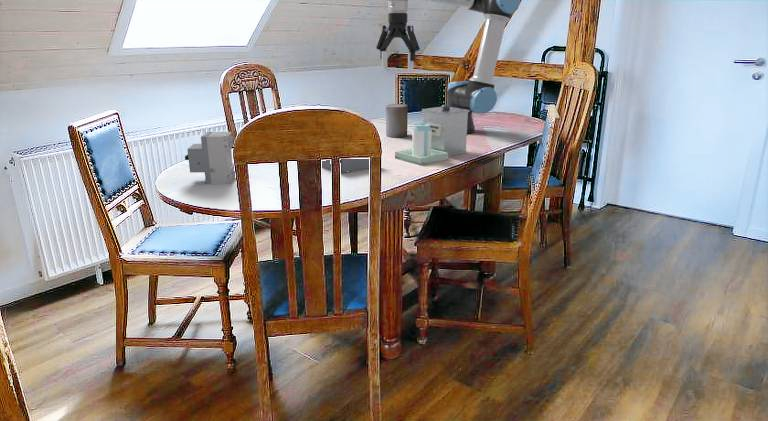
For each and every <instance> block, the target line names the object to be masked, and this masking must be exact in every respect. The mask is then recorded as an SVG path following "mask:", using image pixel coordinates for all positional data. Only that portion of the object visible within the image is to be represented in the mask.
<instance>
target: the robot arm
mask: <svg viewBox="0 0 768 421" xmlns="http://www.w3.org/2000/svg"><path fill="white" fill-rule="evenodd" d="M421 1H425V2H430V3H437V4H445V5H450V6H459V7H462V8H463V9H464V10H467V11H472V12H478V13H482V14H483V17H484V19H485V21H484V22H485V23H484V27H483V31H482V36H481V40H480V45H479V50H478V52H477V59H476V62H475V67H474V71H473V73H472V74H473V75H472V77H470V78H468V80H464V81H450V82H449V83H448V85H447V90H446V92H447V102H446V103H447V104H446V105H450V107H453V108H460V109H466V110H470V111H469V112H468V121H467V134H472V133H473V134H474V133H475V130H476V126H475V124H474V123H475V122H474V118H473V113H474V114H479V115H480V114H482V115H484V114H487V113H489V112H490V111H492V110H493V109H494V107H495V106H496V104H497V100H498V96H497V92H496V91H495V86H496V84H495V83H494V79H493V78H494V75H495V71H496V66H497V62H498V59H499V58H498V57H499V54H500V49H501V45H502V41H503V36H504V33H505V32H504V31H505V29H506V25H507V23H508V22H510V21H511V20H512V19H511V18H512V14H514V13H515V12H516V11H517V10H518V9H519V8H520V5H521V0H421ZM408 3H409V2H408V0H388V3H387V5H388V7H387V9H388V11H387V12H389V13H388V14H387V18H388V19H387V21H388V22H387V23H388V25H387V24H386V25H382V30H381V33H380V35H379V38H378V39H379V40H378V42H377V45H376V50H379V52H380V60H381V69H385V68H386V69H387V68H388V50H387V49H388V47H389V46H390V44H391V43H392V41H393V40H394V39H396V38H398V39H399V38H400V39H401V40H402V41H403V43H404V44H405V46H406V47H407V49H408V52H407V70H408V71H409V70H410V71H411V70H414V65H415V64H414V61H415V60H416V52H419V51H420V50H421V49H420V48H421V47H420V45H419V43H418V40H417V37H416V34H415V32H414V31H415V30H414V26H413V25H407V23H408V13H407V12H409V11H408V9H409V8H408V6H409V4H408Z"/></svg>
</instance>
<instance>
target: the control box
mask: <svg viewBox="0 0 768 421" xmlns="http://www.w3.org/2000/svg"><path fill="white" fill-rule="evenodd" d="M421 111H422V113H423V114H422V116H423V118H422V119H423V120H422V123H424V124H430V127H431V129H432V136H431V149H434V150H438V151H443V152H447V153H448V158H449V157H454V156H458V155H464V154H466V153H467V121H468V112H469V111H470V110H466V109H460V108H453V107H450V105H447V104H441V106H437V107H428V108H421Z"/></svg>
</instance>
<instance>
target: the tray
mask: <svg viewBox="0 0 768 421" xmlns="http://www.w3.org/2000/svg"><path fill="white" fill-rule="evenodd" d="M394 158H395V159H397V160H401V161H403V162H404V161H405V162H408V163H412V164H415V165H418V166H424V165H427V164H432V163H438V162H442V161H447V160H449V157H448V153H447V152H443V151H438V150H434V149H431V156H425V157H417V156H413V155H412V148H408V149H407V148H406V149H403V150H401V149H400V150H396V151H394Z"/></svg>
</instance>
